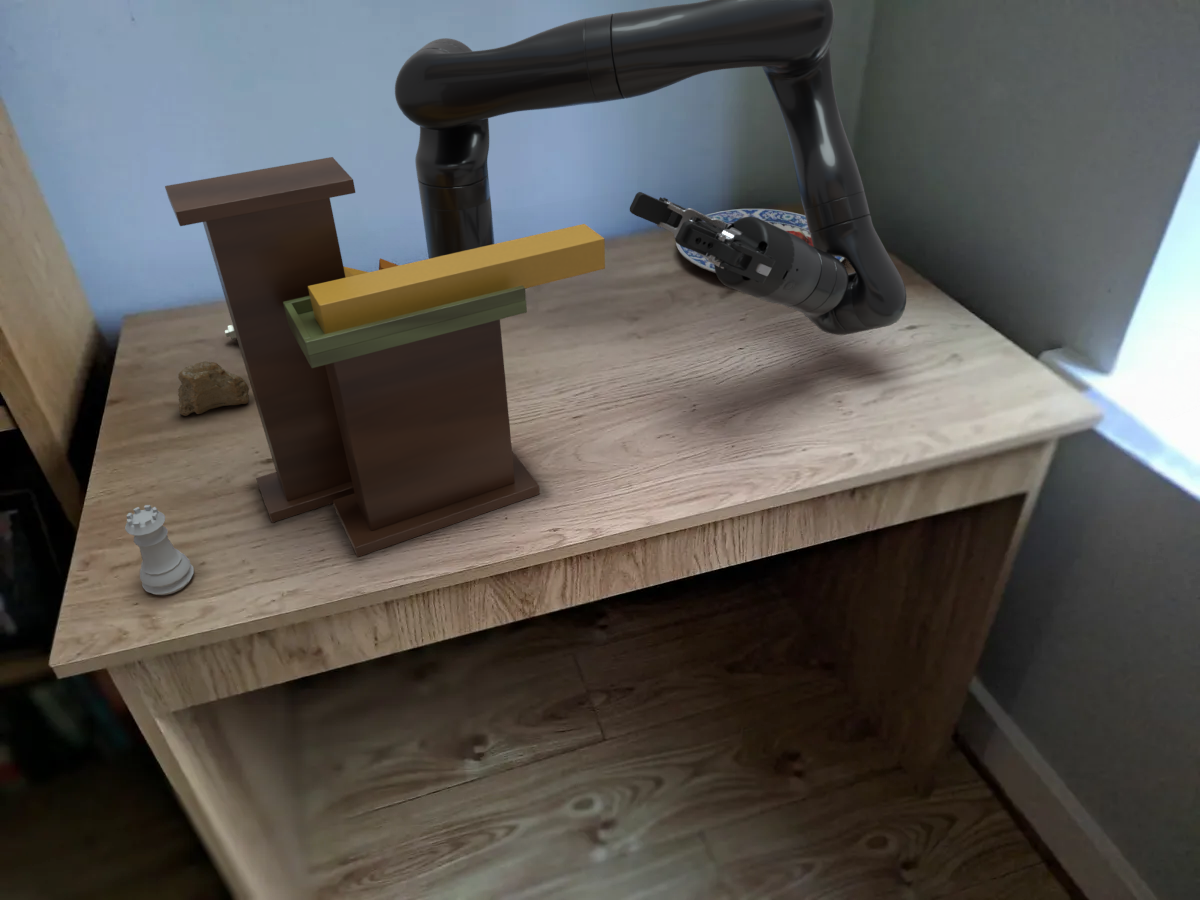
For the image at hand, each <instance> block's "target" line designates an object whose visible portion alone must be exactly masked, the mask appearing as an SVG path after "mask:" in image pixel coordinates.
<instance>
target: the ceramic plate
mask: <svg viewBox="0 0 1200 900" xmlns="http://www.w3.org/2000/svg"><path fill="white" fill-rule="evenodd" d="M705 215H706V216H708V217H710V218H718V219H720V220H722V221H724V222H726V223H727V224H729V225H728V226H730V225H731V224H732V223H734V222H735V221H737V220H739V219H741V218H744V217H756V218H759V219H761V220H763V221H765V222H767V223H770V224H772V225H774V226H776V227H778V228H780V229H783V230H785V231H787V232H789V233H791V234H793V235H795V236H797V237H799V238H801V239H802V240H804V241H805V242H806V243H808V244H809V245H811V246H813V243H812V240H811V236H810V234H811V233H810V232H809V228H808V224H807V220H806V216H805V214H802V213H801V214H800V213H796V212H793V211H787V210H781V209H769V208H738V209H727V210H721V211H716V212H712V213H708V214H705ZM702 221H703V220H702ZM703 222H705V221H703ZM675 245H676V248H677V250H678V252H679V253H680V255H682V257H683V258H684V259H686V260H687V261H689V262H690V263H692V264H694V265H696V266H697V267H699V268H701V269H704V270H706V271H709V272H712V273H715V274H716V272H715V267H714V264H713V263H711V262H709V261H708V258H706V257H704V256H702V255H700V254H698V253H697V252H695V251H693V250H690V249H688V248H685V247H683V246H680V245H679V244H677V243H676V242H675ZM813 247H814V246H813ZM835 258H837V259H838V260H840V261H841V263H843V262H844V260H846V259H845V258H844V257H838V256H836V257H835Z"/></svg>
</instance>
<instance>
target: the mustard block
mask: <svg viewBox="0 0 1200 900" xmlns="http://www.w3.org/2000/svg"><path fill="white" fill-rule="evenodd" d="M605 246H606V241H605V238H604V237H603V236H602V235H601V234H600V233H598V232H596V231H595V230H594V229H593V228H591V227H589V225H587V224H586V223H581V224H576V225H573V226H568V227H564V228H560V229H555V230H551V231H546V232H542V233H537V234H534V235H533V234H532V235H529V236H524V237H519V238H515V239H511V240H506V241H501V242H497V243H495V244H492V245H488V246H484V247H479V248H475V249H470V250H466V251H461V252H457V253H453V254H448V255H444V256H439V257H435V258H430V259H429V258H427V259H421V260H417V261H413V262H409V263H405V264H398V265H399V266H395V267H391V268H386V269H382V270H379V269H378V270H373V271H367V272H368V273H364V274H360V275H355V276H351V277H346V278H342V279H337V280H333V281H329V282H324V283H320V284H315V285H311V286H308V291H309V295H310V299H311V304H312V308H313V312H314V317H315V319H316V321H317V322H318V324H319V326H320V327H321V329H322V331H323V332H324V334H328V333H332V332H336V331H340V330H344V329H348V328H352V327H356V326H360V325H364V324H368V323H372V322H376V321H380V320H384V319H388V318H392V317H396V316H400V315H404V314H409V313H413V312H417V311H421V310H425V309H429V308H433V307H437V306H441V305H445V304H449V303H453V302H457V301H461V300H465V299H469V298H473V297H477V296H481V295H485V294H489V293H493V292H497V291H501V290H505V289H509V288H513V287H517V286H522V285H523V286H524V287H525V289H529V288H533V287H537V286H542V285H546V284H550V283H553V282H557V281H562V280H564V279H565V280H566V279H571V278H574V277H578V276H581V275H584V274H589V273H593V272H597V271H601V270H605V269H606V247H605Z"/></svg>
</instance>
